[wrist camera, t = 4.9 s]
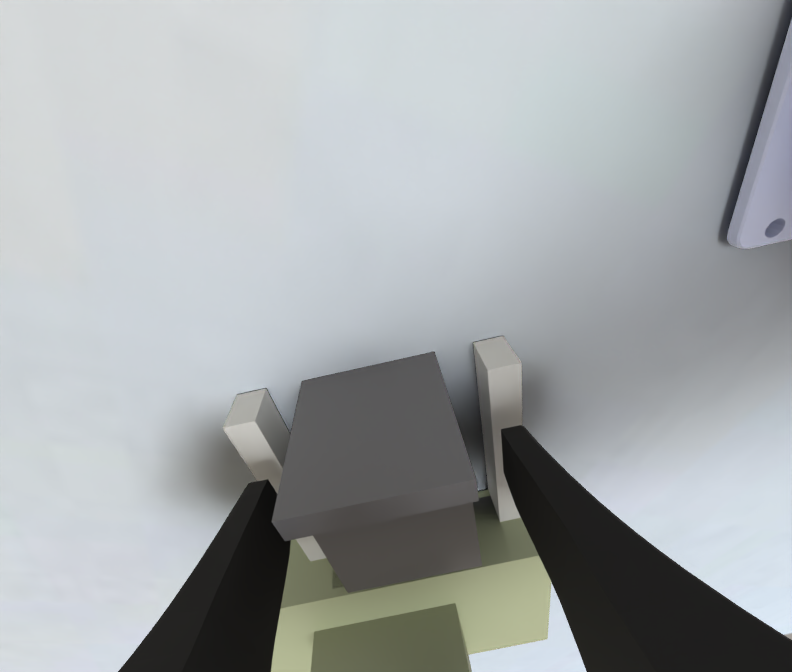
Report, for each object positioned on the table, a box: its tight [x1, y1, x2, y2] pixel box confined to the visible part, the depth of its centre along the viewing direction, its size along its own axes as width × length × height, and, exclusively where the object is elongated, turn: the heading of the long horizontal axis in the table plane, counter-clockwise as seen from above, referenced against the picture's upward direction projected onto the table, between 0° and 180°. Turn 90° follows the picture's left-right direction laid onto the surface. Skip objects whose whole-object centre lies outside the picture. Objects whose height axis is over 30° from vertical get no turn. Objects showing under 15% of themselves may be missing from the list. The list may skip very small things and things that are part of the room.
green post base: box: [223, 336, 551, 672], centre depth 13 cm, size 14×16×6 cm
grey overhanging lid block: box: [272, 352, 482, 593], centre depth 11 cm, size 4×6×5 cm
